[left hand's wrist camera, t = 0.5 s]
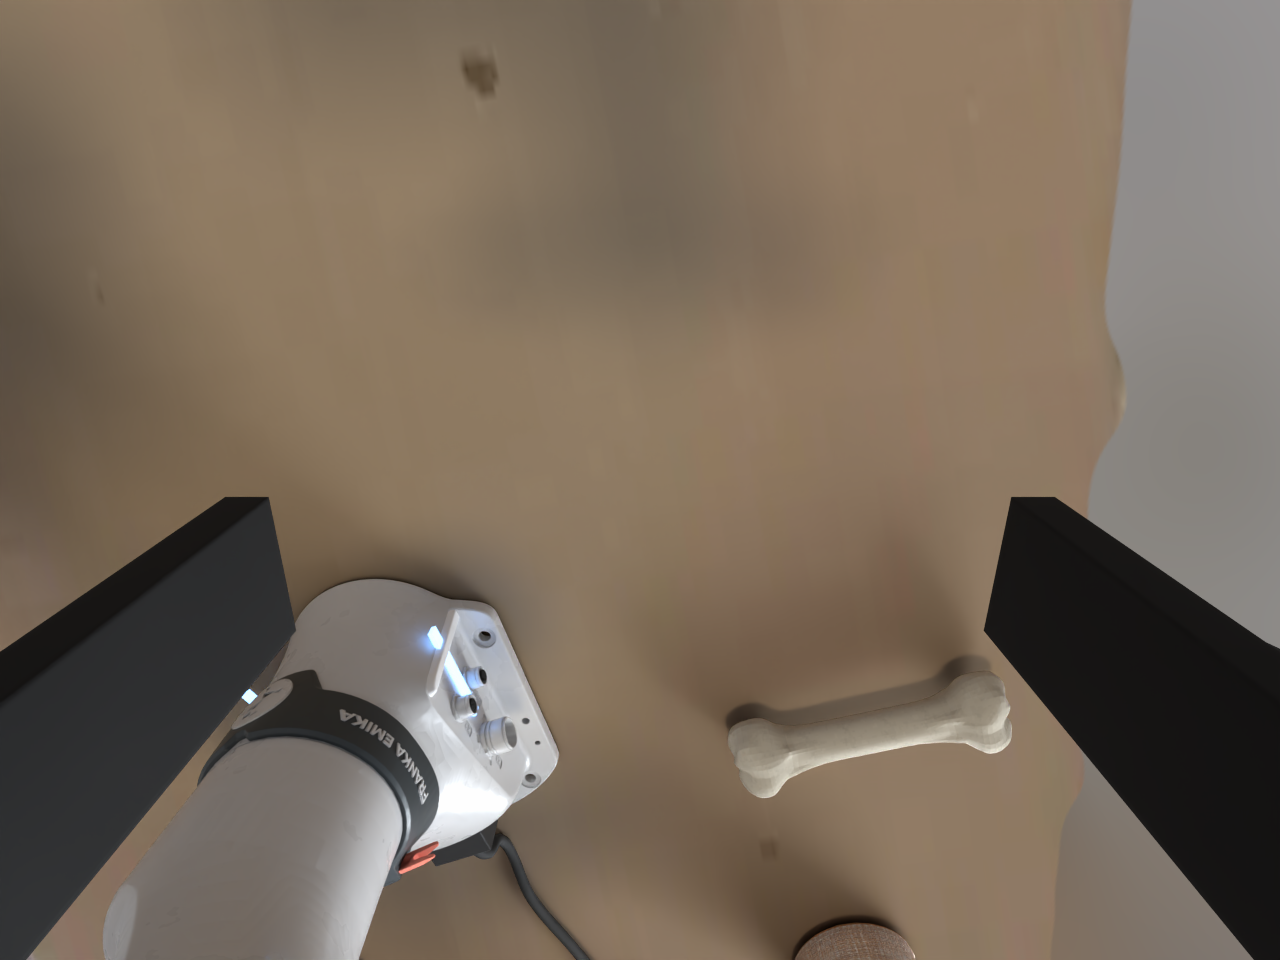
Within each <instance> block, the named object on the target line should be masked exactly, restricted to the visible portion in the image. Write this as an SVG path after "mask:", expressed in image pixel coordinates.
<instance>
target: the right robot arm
mask: <svg viewBox="0 0 1280 960" xmlns="http://www.w3.org/2000/svg"><path fill="white" fill-rule="evenodd" d="M295 627H296V631H295V633H294V634H293V635H292V636H291V638H290V642H289V645H288V648H287V651H286V653H285V656H284V658H283V660H282V662H281V664H280V666H279V668H278V671H277V672H276V674H275V676H274V678H273V680H272V681H271V683H270V685H269V686H268V687H267V688H266V689H264V690H263V691H262V692H261V693H260V694H259V695H258V696H257V695H256V694H254V693H253V692H252V691H251V690H250V689H249V690H248V691H247V692H246V693H245V694H244V695H243V696H242V698H243V699H244V700H246V701H247V702H248V703H249V705H248V706H247V707H246V708H245V709H244V711H243V712H242V713H241V714H240V715H239V717H238V718H237V719H236V720H235V722H234V723H233V725H232V726H231V730H230V731H229V732H228V734H227V735H226V736H225V737H224V739H223V740H222V741H221V743H220V744H219V746H218V747H217V748H216V750H215V751H214V752H213V754H212V755H211V757H210V758H209V759H208V761H207V762H206V764H205V766H204V767H203V769H202V771H201V774H200V777H199V779H198V784H197V788H196V789H195V790H194V792H193V793H192V794H191V796H190V797H189V798H188V799H187V801H186V802H185V803H184V805H183V806H182V807H181V808H180V810H179V811H178V812H177V814H176V815H175V816H174V818H173V819H172V820H171V821H170V823H169V824H168V825H167V827H166V828H165V829H164V831H163V832H162V833H161V834H160V836H159V837H158V838H157V840H156V841H155V842H154V843H153V845H152V846H151V847H150V849H149V850H148V851H147V853H146V854H145V855H144V856H143V858H142V859H141V860H140V862H139V863H138V864H137V865H136V867H135V868H134V869H133V871H132V872H131V873H130V875H129V876H128V877H127V878H126V880H125V881H124V882H123V884H122V885H121V886H120V888H119V889H118V891H117V892H116V894H115V896H114V898H113V900H112V902H111V904H110V907H109V909H108V912H107V915H106V919H105V923H104V929H103V950H104V955H105V959H106V960H359V956H360V953H361V950H362V947H363V944H364V941H365V938H366V935H367V933H368V930H369V927H370V924H371V921H372V918H373V915H374V912H375V909H376V906H377V903H378V900H379V897H380V895H381V892H382V889H383V887H385V886H387V885H390V884H392V883H394V882H396V881H398V880H400V878H401V875H402V873H405V872H407V871H409V870H412V869H414V868H416V867H419V866H421V865H423V864H425V863H427V862H428V861H430V860H432V861H433V863H434V864H435V866H439V865H442V864H446V863H449V862H452V861H456V860H459V859H462V858H466V857H469V856H472V855H474V856H476V857H478V858H480V859H489V858H492V857H493V856H494V855H495V853H496V852H497V850H498V848H499V845H500V846H501V847H502V848H503V849H504V851H505V852H506V854H507V856H508V858H509V861H510V863H511V866H512V868H513V871H514V874H515V877H516V879H517V882H518V884H519V887H520V889H521V891H522V893H523V895H524V897H525V898H526V900H527V902H528V903H529V905H530V906H531V907H532V909H533V910H534V911H535V913H536V914H537V915H538V917H539V918H540V919H541V920H542V921H543V923H544V924H545V925H546V926H547V927H548V928H549V929H550V930H551V932H552V933H553V934H554V935H555V936H556V937H557V938H558V939H559V940H560V941H561V942H562V944H563V945H564V946H565V947H566V948H567V949H568V950H569V952H570V953H571V954H572V955H573V956H574V958H575V959H576V960H590V959H589V958H588V957H587V956H586V954H585V953H584V952H583V951H582V950H581V948H580V947H579V946H578V945H577V944H576V942H575V941H574V940H573V939H572V938H571V937H570V935H569V934H568V933H567V932H566V931H565V930H564V929H563V928H562V927H561V925H560V924H559V923H558V922H557V921H556V920H555V919H554V918H553V916H552V915H551V914H550V913H549V912H548V911H547V909H546V908H545V907H544V905H543V904H542V903H541V902H540V900H539V899H538V897H537V896H536V894H535V893H534V891H533V890H532V888H531V886H530V884H529V881H528V879H527V877H526V874H525V871H524V869H523V866H522V864H521V861H520V859H519V856H518V854H517V852H516V850H515V848H514V846H513V844H512V843H511V841H510V840H509V838H508V837H506V836H504V835H502V834H496V835H495V831H496V826H497V822H498V818H499V817H500V816H501V815H502V814H503V813H504V812H505V811H506V810H507V809H508V808H509V807H510V805H511V804H513V803H515V802H516V801H518V800H520V799H522V798H523V797H525V796H526V795H528V794H529V793H531V792H532V791H534V790H535V789H536V788H537V787H538V786H540V785H541V784H542V783H543V782H544V781H545V780H546V779H547V778H548V776H549V775H550V774H551V772H552V771H553V769H554V768H555V766H556V764H557V761H558V757H559V752H558V748H557V746H556V744H555V741H554V739H553V737H552V735H551V732H550V730H549V728H548V726H547V723H546V721H545V719H544V717H543V714H542V712H541V710H540V708H539V706H538V703H537V701H536V699H535V697H534V694H533V692H532V690H531V688H530V685H529V683H528V681H527V679H526V676H525V674H524V672H523V670H522V668H521V665H520V663H519V661H518V659H517V656H516V654H515V652H514V650H513V647H512V645H511V643H510V641H509V638H508V636H507V634H506V632H505V630H504V627H503V625H502V623H501V621H500V618H499V616H498V614H497V612H496V611H495V609H494V608H493V607H491V606H490V605H488V604H485V603H482V602H477V601H469V600H453V599H448V598H444V597H442V596H439V595H437V594H434V593H432V592H430V591H428V590H425V589H423V588H420V587H418V586H415V585H412V584H408V583H404V582H400V581H394V580H386V579H364V580H357V581H352V582H347V583H344V584H341V585H338V586H335V587H333V588H331V589H329V590H327V591H325V592H323V593H322V594H320V595H319V596H317V597H316V598H315V599H314V600H312V601H311V602H310V603H309V604H308V605H307V606H306V607H305V608H304V610H303V611H302V612H301V614H300V615H299V617H298V619H297V620H296V623H295ZM482 631H486V632H488V633H490V635H489V636H486V635H483V634H482V633H481V632H482ZM528 774H533V776H531V775H528Z"/></svg>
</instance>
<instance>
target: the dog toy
mask: <svg viewBox="0 0 1280 960" xmlns="http://www.w3.org/2000/svg"><path fill="white" fill-rule="evenodd" d="M1009 711H1010V704H1009V703H1008V701H1007V699H1006V696H1005V686H1004V684H1003V682H1002V680H1001V679H1000V678H999V677H998V676H996V675H995V674H994V673H992V672H988V671H978V672H972V673H967V674H963V675H960V676H959V677H957V678H955V679H954V680H953V681H952V682H951V683H950V684H949V686H948V687H946V688H945V689H943V690H941V691H940V692H938V693H937V694H935V695H933V696H931V697H929V698H926V699H923V700H919V701H915V702H912V703H908V704H903V705H898V706H894V707H889V708H884V709H879V710H875V711H870V712H865V713H860V714H855V715H851V716H846V717H841V718H836V719H831V720H826V721H821V722H816V723H811V724H805V725H794V726H788V725H782V724H775V723H772V722H770V721H768V720H766V719H762V718H752V719H748V720H745V721H742V722H739V723H737V724H735V725H734V726H732V727H731V729H730V731H729V733H728V745H729V748H730V750H731V752H732V753H733V755H734V763H735V765H736V766H737V767H738V768H739V776H740V779H741V782H742V783H743V785H744V786H745V788H746V789H747V790H748V791H749V792H750V793H752V794H754V795H755V796H757V797H761V798H769V797H772V796H774V795H775V794H776V793H777V792H778V791H779V790H780V788H781V787H782V785H783V784H784V783H785V781H786V780H787V779H789V778H791V777H793V776H796V775H797V774H799V773H801V772H804V771H806V770H808V769H811V768H813V767H816V766H819V765H822V764H825V763H829V762H833V761H837V760H842V759H847V758H852V757H857V756H861V755H866V754H871V753H876V752H881V751H886V750H891V749H896V748H901V747H906V746H912V745H918V744H926V743H966V744H969V745H970V746H972V747H974V748H976V749H978V750H980V751H983V752H986V753H997V752H999V751H1001V750H1003V749H1004V748H1005V747H1006V746H1007V745H1008V744H1009V742H1010V740H1011V734H1012V725H1011V722H1010V720H1009V719H1008V718H1007V715H1008V713H1009Z"/></svg>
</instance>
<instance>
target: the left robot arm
mask: <svg viewBox="0 0 1280 960" xmlns="http://www.w3.org/2000/svg"><path fill="white" fill-rule="evenodd" d="M295 631H296V627H295V623H294V618H293V613H292V608H291V603H290V598H289V594H288V589H287V584H286V579H285V574H284V569H283V565H282V560H281V555H280V550H279V545H278V540H277V535H276V531H275V526H274V521H273V516H272V511H271V506H270V502H269V497H225V498H223V499H222V500H220V501H219V502H217V503H216V504H214V505H213V506H212V507H210V508H209V509H207V510H206V511H204V512H203V513H201V514H200V515H198V516H197V517H196V518H194V519H193V520H191V521H190V522H188V523H187V524H185V525H184V526H182V527H181V528H180V529H178V530H177V531H175V532H174V533H172V534H171V535H169V536H168V537H166V538H165V539H164V540H162V541H161V542H159V543H158V544H156V545H155V546H153V547H152V548H150V549H149V550H148V551H146V552H145V553H143V554H142V555H140V556H139V557H137V558H136V559H135V560H133V561H132V562H130V563H129V564H127V565H126V566H124V567H123V568H121V569H120V570H119V571H117V572H116V573H114V574H113V575H111V576H110V577H108V578H107V579H105V580H104V581H103V582H101V583H100V584H98V585H97V586H95V587H94V588H92V589H91V590H89V591H88V592H87V593H85V594H84V595H82V596H81V597H79V598H78V599H76V600H75V601H73V602H72V603H71V604H69V605H68V606H66V607H65V608H63V609H62V610H60V611H59V612H57V613H56V614H55V615H53V616H52V617H50V618H49V619H47V620H46V621H44V622H43V623H42V624H40V625H39V626H37V627H36V628H34V629H33V630H31V631H30V632H28V633H27V634H26V635H24V636H23V637H21V638H20V639H18V640H17V641H15V642H14V643H12V644H11V645H10V646H8V647H7V648H5V649H4V650H2V651H1V652H0V960H26V959H27V958H28V957H29V956H30V954H31V953H32V952H33V951H34V949H35V948H36V947H37V946H38V945H39V943H40V942H41V941H42V940H43V939H44V937H45V936H46V935H47V934H48V932H49V931H50V930H51V929H52V928H53V926H54V925H55V924H56V923H57V921H58V920H59V919H60V918H61V917H62V915H63V914H64V913H65V912H66V910H67V909H68V908H69V907H70V906H71V904H72V903H73V902H74V901H75V900H76V898H77V897H78V896H79V895H80V893H81V892H82V891H83V890H84V889H85V887H86V886H87V885H88V884H89V882H90V881H91V880H92V879H93V878H94V876H95V875H96V874H97V873H98V871H99V870H100V869H101V868H102V867H103V865H104V864H105V863H106V862H107V861H108V859H109V858H110V857H111V856H112V854H113V853H114V852H115V851H116V850H117V848H118V847H119V846H120V845H121V843H122V842H123V841H124V840H125V839H126V837H127V836H128V835H129V834H130V832H131V831H132V830H133V829H134V828H135V826H136V825H137V824H138V823H139V822H140V820H141V819H142V818H143V817H144V815H145V814H146V813H147V812H148V811H149V809H150V808H151V807H152V806H153V804H154V803H155V802H156V801H157V800H158V798H159V797H160V796H161V795H162V793H163V792H164V791H165V790H166V789H167V787H168V786H169V785H170V784H171V783H172V781H173V780H174V779H175V778H176V776H177V775H178V774H179V773H180V772H181V770H182V769H183V768H184V767H185V765H186V764H187V763H188V762H189V761H190V759H191V758H192V757H193V756H194V755H195V753H196V752H197V751H198V750H199V748H200V747H201V746H202V745H203V744H204V742H205V741H206V740H207V739H208V737H209V736H210V735H211V734H212V733H213V731H214V730H215V729H216V728H217V726H218V725H219V724H220V723H221V722H222V720H223V719H224V718H225V717H226V716H227V714H228V713H229V712H230V711H231V709H232V708H233V707H234V706H235V705H236V703H237V702H238V701H239V700H240V698H241V697H242V696H243V695H244V694H245V692H246V691H247V690H248V689H249V687H250V686H251V685H252V684H253V683H254V681H255V680H256V679H257V678H258V677H259V675H260V674H261V673H262V672H263V670H264V669H265V668H266V667H267V666H268V664H269V663H270V662H271V661H272V659H273V658H274V657H275V656H276V655H277V653H278V652H279V651H280V650H281V648H282V647H283V646H284V645H285V644H286V642H287V641H288V640H289V639H290V638H291V636H292V635H293V634H294V633H295ZM984 631H985V633H986V634H987V635H988V636H989V638H990V639H991V640H992V641H993V642H994V644H995V645H996V646H997V647H998V648H999V650H1000V651H1001V652H1002V653H1003V655H1004V656H1005V657H1006V658H1007V659H1008V661H1009V662H1010V663H1011V664H1012V666H1013V667H1014V668H1015V669H1016V670H1017V672H1018V673H1019V674H1020V675H1021V677H1022V678H1023V679H1024V680H1025V681H1026V683H1027V684H1028V685H1029V686H1030V687H1031V689H1032V690H1033V691H1034V692H1035V694H1036V695H1037V696H1038V697H1039V698H1040V700H1041V701H1042V702H1043V703H1044V705H1045V706H1046V707H1047V708H1048V709H1049V711H1050V712H1051V713H1052V714H1053V716H1054V717H1055V718H1056V719H1057V720H1058V722H1059V723H1060V724H1061V725H1062V726H1063V728H1064V729H1065V730H1066V731H1067V733H1068V734H1069V735H1070V736H1071V737H1072V739H1073V740H1074V741H1075V742H1076V744H1077V745H1078V746H1079V747H1080V748H1081V750H1082V751H1083V752H1084V753H1085V754H1086V756H1087V757H1088V758H1089V759H1090V761H1091V762H1092V763H1093V764H1094V765H1095V767H1096V768H1097V769H1098V770H1099V772H1100V773H1101V774H1102V775H1103V776H1104V778H1105V779H1106V780H1107V781H1108V783H1109V784H1110V785H1111V786H1112V787H1113V789H1114V790H1115V791H1116V792H1117V793H1118V795H1119V796H1120V797H1121V798H1122V799H1123V801H1124V802H1125V803H1126V804H1127V806H1128V807H1129V808H1130V809H1131V811H1132V812H1133V813H1134V814H1135V815H1136V817H1137V818H1138V819H1139V820H1140V822H1141V823H1142V824H1143V825H1144V826H1145V828H1146V829H1147V830H1148V831H1149V832H1150V834H1151V835H1152V836H1153V837H1154V839H1155V840H1156V841H1157V842H1158V843H1159V845H1160V846H1161V847H1162V848H1163V850H1164V851H1165V852H1166V853H1167V854H1168V856H1169V857H1170V858H1171V859H1172V861H1173V862H1174V863H1175V864H1176V865H1177V867H1178V868H1179V869H1180V870H1181V871H1182V873H1183V874H1184V875H1185V876H1186V878H1187V879H1188V880H1189V881H1190V882H1191V884H1192V885H1193V886H1194V887H1195V889H1196V890H1197V891H1198V892H1199V893H1200V895H1201V896H1202V897H1203V898H1204V899H1205V901H1206V902H1207V903H1208V904H1209V906H1210V907H1211V908H1212V909H1213V910H1214V912H1215V913H1216V914H1217V915H1218V917H1219V918H1220V919H1221V920H1222V921H1223V923H1224V924H1225V925H1226V926H1227V928H1228V929H1229V930H1230V931H1231V932H1232V934H1233V935H1234V936H1235V937H1236V939H1237V940H1238V941H1239V942H1240V943H1241V945H1242V946H1243V947H1244V948H1245V949H1246V951H1247V952H1248V953H1249V954H1250V956H1251V957H1252V958H1253V959H1254V960H1280V649H1279V648H1277V647H1275V646H1273V645H1271V644H1268V643H1266V642H1265V641H1263V640H1262V639H1260V638H1259V637H1257V636H1256V635H1254V634H1253V633H1252V632H1250V631H1249V630H1247V629H1246V628H1244V627H1243V626H1241V625H1240V624H1238V623H1237V622H1236V621H1234V620H1233V619H1231V618H1230V617H1228V616H1227V615H1225V614H1224V613H1222V612H1221V611H1220V610H1218V609H1217V608H1215V607H1214V606H1212V605H1211V604H1209V603H1208V602H1206V601H1205V600H1204V599H1202V598H1201V597H1199V596H1198V595H1196V594H1195V593H1193V592H1192V591H1190V590H1189V589H1188V588H1186V587H1185V586H1183V585H1182V584H1180V583H1179V582H1177V581H1176V580H1175V579H1173V578H1172V577H1170V576H1169V575H1167V574H1166V573H1164V572H1163V571H1161V570H1160V569H1159V568H1157V567H1156V566H1154V565H1153V564H1151V563H1150V562H1148V561H1147V560H1145V559H1144V558H1143V557H1141V556H1140V555H1138V554H1137V553H1135V552H1134V551H1132V550H1131V549H1130V548H1128V547H1127V546H1125V545H1124V544H1122V543H1121V542H1119V541H1118V540H1116V539H1115V538H1114V537H1112V536H1111V535H1109V534H1108V533H1106V532H1105V531H1103V530H1102V529H1100V528H1099V527H1098V526H1096V525H1095V524H1093V523H1092V522H1090V521H1089V520H1087V519H1086V518H1084V517H1083V516H1082V515H1080V514H1079V513H1077V512H1076V511H1074V510H1073V509H1071V508H1070V507H1068V506H1067V505H1066V504H1064V503H1063V502H1061V501H1060V500H1058V499H1057V498H1055V497H1011V502H1010V506H1009V511H1008V516H1007V521H1006V526H1005V531H1004V535H1003V540H1002V545H1001V550H1000V555H999V560H998V565H997V569H996V574H995V579H994V584H993V589H992V594H991V598H990V603H989V608H988V613H987V618H986V623H985V627H984Z"/></svg>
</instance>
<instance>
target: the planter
mask: <svg viewBox="0 0 1280 960" xmlns="http://www.w3.org/2000/svg"><path fill="white" fill-rule="evenodd" d="M795 960H916V959H915V956H914V954H913V952H912V950H911V948H910V946H909V944H908V943H907V942H906V940H905V939H904V938H903V937H902V936H900V935H899V934H897V933H896V932H894V931H892V930H890V929H888V928H885V927H882V926H879V925H875V924H870V923H846V924H840V925H836V926H833V927H830V928H828V929H826V930H823V931H821V932H819V933H818V934H816V935H815V936H813V937H812V938H811V939H809V940H808V941H807V942H806V943H805V944H804V945H803V946H802V948H801V949H800V950H799V952H798V953H797V955H796V958H795Z"/></svg>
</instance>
